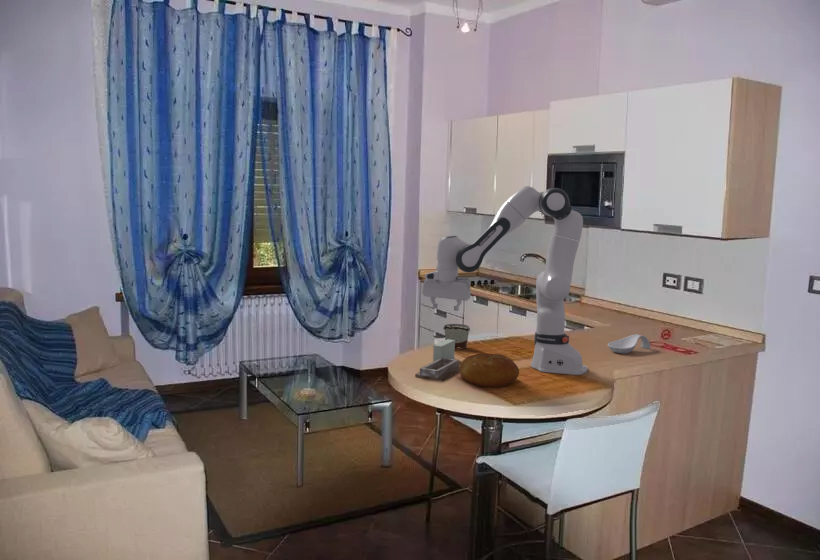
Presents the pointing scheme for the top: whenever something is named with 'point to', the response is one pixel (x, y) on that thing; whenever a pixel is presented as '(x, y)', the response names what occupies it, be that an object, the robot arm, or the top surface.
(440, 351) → the pale green rectangular block
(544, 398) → the top surface
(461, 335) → the food container
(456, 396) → the top surface
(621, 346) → the spoon rest
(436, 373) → the grey rectangular tray
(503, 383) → the bread
